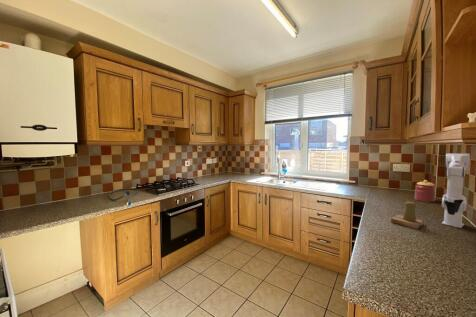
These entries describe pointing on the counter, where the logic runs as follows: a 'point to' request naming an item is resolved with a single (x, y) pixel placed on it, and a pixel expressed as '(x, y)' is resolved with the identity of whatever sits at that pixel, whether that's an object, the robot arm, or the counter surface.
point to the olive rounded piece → (410, 212)
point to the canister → (425, 191)
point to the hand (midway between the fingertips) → (452, 213)
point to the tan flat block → (406, 222)
